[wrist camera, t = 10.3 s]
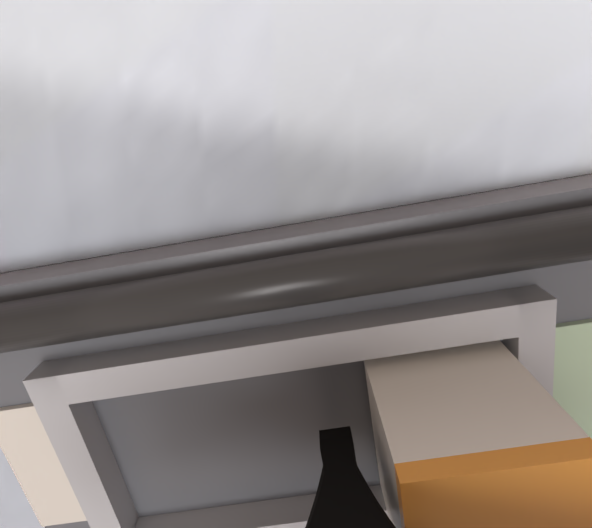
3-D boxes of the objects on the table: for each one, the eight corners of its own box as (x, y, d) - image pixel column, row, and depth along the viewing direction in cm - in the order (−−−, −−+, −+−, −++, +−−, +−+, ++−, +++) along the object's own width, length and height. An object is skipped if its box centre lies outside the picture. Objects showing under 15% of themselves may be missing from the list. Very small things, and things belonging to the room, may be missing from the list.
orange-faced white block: (497, 338, 12) (607, 456, 8) (498, 467, 14) (590, 622, 10) (363, 358, 12) (399, 483, 8) (380, 484, 14) (418, 642, 10)
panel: (601, 172, 12) (689, 187, 10) (577, 494, 17) (633, 568, 14) (-40, 280, 13) (-126, 321, 11) (92, 557, 18) (55, 637, 15)
